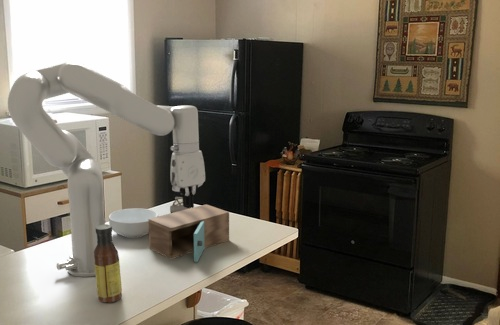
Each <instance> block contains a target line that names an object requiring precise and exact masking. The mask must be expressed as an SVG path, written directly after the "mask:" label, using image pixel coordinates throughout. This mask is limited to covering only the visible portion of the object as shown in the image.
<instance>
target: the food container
mask: <svg viewBox="0 0 500 325" xmlns="http://www.w3.org/2000/svg"><path fill="white" fill-rule="evenodd" d="M186 209H189V208H186V207H184V206H183V196H175V197H174V201H173V203H172V205H170V206H169V212H170V213H174V212H178V211H182V210H186Z"/></svg>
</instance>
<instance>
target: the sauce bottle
mask: <svg viewBox="0 0 500 325" xmlns="http://www.w3.org/2000/svg"><path fill="white" fill-rule="evenodd" d="M112 232H113V230H112V226H111V225H110V224H109V223H108V224H106V223H105V224H103V225H99V226H97V227H96V233H97V246H96V248H95V250H94V259H95V263H94V264H95V273H96V276H95V282H96V295H97V298H98V301H99V302H101V303H107V304H109V303H115V302H117V301H119V300H120V299H121V298H122V295H123V293H122V291H123V289H122V278H121V276H122V275H121V267H120V266H121V265H120V257H119V251H118V249H117V248H116V246H115V244H114V241H113V233H112Z"/></svg>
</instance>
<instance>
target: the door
mask: <svg viewBox="0 0 500 325" xmlns="http://www.w3.org/2000/svg"><path fill="white" fill-rule="evenodd" d="M205 249H206V248H205V246H204V221H201V222H200V224H199V226H198V227H197V229H196V231H195V232H194V252H193V262H194V263H198V262H199V259H200V258H201V256H202V254H203V252H204V250H205Z"/></svg>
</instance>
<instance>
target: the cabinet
mask: <svg viewBox="0 0 500 325" xmlns="http://www.w3.org/2000/svg"><path fill="white" fill-rule="evenodd" d="M201 221H204V246H205V248H204V249H207V248H209V247H214V246H215V245H219V244H222V243H225V242H228V241H230V211H227V210H224V209H221V208H218V207H216V206H212V205H210V204H207V203H206V204H203V205H197V206H194V207H193V208H190V209H186V210H182V211H178V212H174V213H171V212H170V213H166V214H162V215H158V217H154V218H150V219H148V223H149V233H148V246H149V248H150V250H152V251H154V252H156V253H158V252H159V253H158V254H160V253H161V254H160V255H162V254H163V255H162V256H165V257H166V256H167V258H169V259H175V258H178V257H181V256H185V255H187V254H190V253H191V254H192V253H194V232H195V231H196V229H197V227H198V226H199V224H200V222H201ZM149 248H148V249H149Z"/></svg>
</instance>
